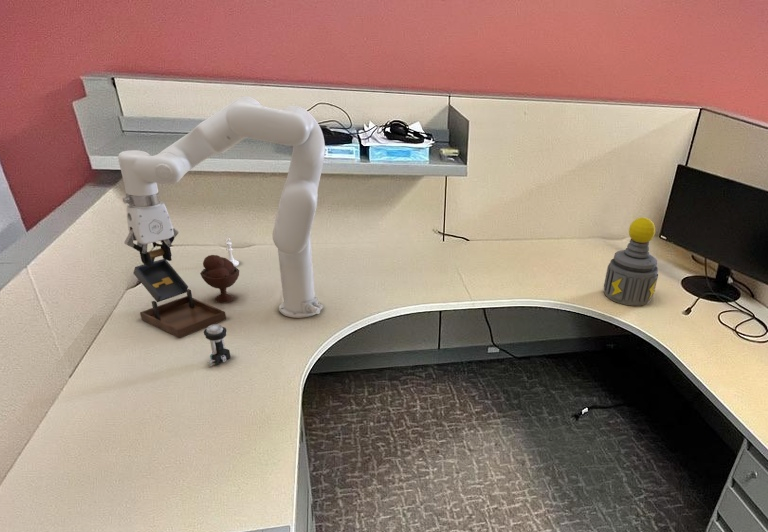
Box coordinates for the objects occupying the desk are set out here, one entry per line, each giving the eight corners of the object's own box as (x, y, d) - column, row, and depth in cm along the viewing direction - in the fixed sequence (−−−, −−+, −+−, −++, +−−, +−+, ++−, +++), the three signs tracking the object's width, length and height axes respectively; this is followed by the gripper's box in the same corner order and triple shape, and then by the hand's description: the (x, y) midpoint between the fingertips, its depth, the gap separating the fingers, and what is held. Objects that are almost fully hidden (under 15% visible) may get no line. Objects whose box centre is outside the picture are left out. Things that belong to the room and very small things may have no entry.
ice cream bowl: (230, 308, 175) (223, 263, 167) (198, 302, 176) (189, 257, 169) (250, 295, 184) (243, 252, 176) (219, 289, 185) (211, 246, 178)
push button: (217, 370, 146) (210, 336, 141) (201, 365, 147) (194, 331, 142) (236, 358, 151) (230, 325, 146) (220, 353, 153) (213, 321, 148)
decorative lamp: (592, 293, 211) (607, 215, 195) (619, 282, 223) (635, 207, 208) (635, 311, 200) (655, 230, 185) (661, 298, 213) (681, 221, 197)
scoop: (186, 292, 169) (192, 275, 163) (157, 302, 162) (163, 285, 156) (161, 262, 169) (167, 245, 163) (131, 271, 162) (136, 253, 157)
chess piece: (241, 264, 204) (237, 238, 199) (228, 267, 201) (223, 240, 196) (235, 260, 207) (231, 234, 202) (221, 263, 204) (217, 236, 199)
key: (168, 277, 167) (168, 276, 167) (173, 283, 167) (173, 282, 167) (150, 283, 163) (150, 282, 163) (154, 289, 163) (155, 288, 163)
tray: (226, 319, 169) (222, 299, 166) (179, 338, 158) (174, 317, 154) (189, 302, 176) (185, 283, 173) (141, 320, 164) (136, 299, 161)
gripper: (120, 208, 144) (135, 274, 153) (182, 196, 157) (193, 258, 166) (103, 201, 147) (119, 266, 156) (165, 190, 160) (177, 251, 169)
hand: (157, 261), depth 161 cm, fingers closed on scoop, 5 cm apart
